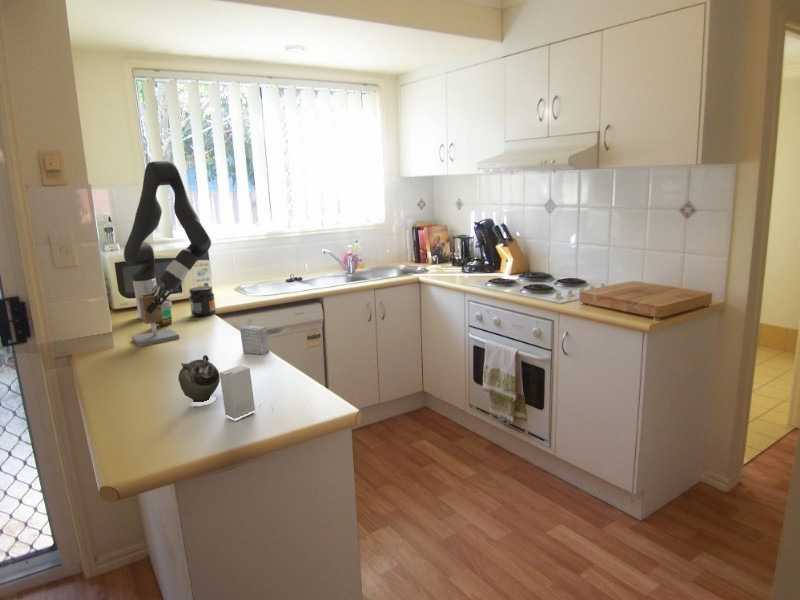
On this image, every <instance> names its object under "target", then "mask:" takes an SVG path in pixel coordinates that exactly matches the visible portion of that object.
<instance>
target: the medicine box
mask: <svg viewBox="0 0 800 600" xmlns="http://www.w3.org/2000/svg"><path fill="white" fill-rule="evenodd" d="M239 329H240V338H241V346H242V352H247V353H246V354H250V353H257V354H256V355H259V354H262V355H264V354H266V353H268V352H270V344H269V336H268V329H267V327H266V326H260V325H245V326H243V327H242V328H239ZM267 351H268V352H267Z"/></svg>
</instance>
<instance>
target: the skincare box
mask: <svg viewBox="0 0 800 600" xmlns="http://www.w3.org/2000/svg"><path fill="white" fill-rule="evenodd" d="M219 375H220V386H221V392H222V400H223V406H224V407H223V408H224V414H225V416H226V415H228V416H230V417H232V418H234V419H235V418H238V417H240V416H243V415H245V414H248V413H249V412H252V411H254V410H255V411H256V407H255V399H254V390H253V383H252V376H251V369H250V367H248V366H244V365H237V366H235V367H231V368H229V369H226V370H223V371H220V372H219Z"/></svg>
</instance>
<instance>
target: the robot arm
mask: <svg viewBox="0 0 800 600" xmlns="http://www.w3.org/2000/svg"><path fill="white" fill-rule="evenodd" d="M177 167H178V166H176V164H175V163H174V162H172V161H170V160H164V161H161V160H158V161H157V160H155V161H150V162H147V164H146V167H145V170H144V175H143V183H142V190H141V194H140V197H139V198H140V199H139V201H138V206H137V209H136V211H135V216H134V221H133V224H132V227H131V232H130V233H129V236H128V238H127V241H126V243H125V246H124V249H123V259H124V261H125V263H126V264H127V265H130V266H139V265H141V267H140V268H139V269H138V270H137V271H134V272H133V274H132V275H131V277H132V285H133V290H134V296H135V301H136V307H137V308H136V309H137V314H138V319H139V320H143V319H142V313H141V307H140V302H139V295H145V294H151V295H152V296H153V295H154V293H155V299H154V300H153V302H152V303H151V304H150V306H149V307H148V308H147V310H146V311H147V312H148V313H150V314H152V313H153V311H154V310H155V309H156V307H157V306H159V305H162V303H163V302H164V301H165V300H166V299H168V298H169V296H170V295H171V294H172V293H171V289H172V290H173V291H176V290H177V289H178V287H179V286H180V285H181V284H182V283H183V281H184V280H185V279H186V278H187V276H188V274H189V272H190V271H191V270H192V268H193V267H194V265H195V264H196V263H197V262H198V261H199V260H200V259H201V258H202V257H203V256H204V255H206V253H208V251H209V250H210V248H211V245H212V240H211V238H210V237H209V235H208V232H207V230H206V229H205V228H204V226H203V224H202V223H201V220H200V218H199V216H198V215H197V213H196V211H195V209H194V207H193V206H192V204H191V202H190V198H189V196H188V193H187V190H186V188H185V185H184V182H183V179H182V177H181V173H180V171H179V169H178V168H177ZM160 186H170V188H171V189H172V191H173V193H174V203H173V210H174V214H175V216H176V219H177V220H178V222H179V224H180V225H181V227H182V229H183V230H184V233H185V234H186V236H187V238H188V240H189V242H190V244H189V246H187V247H186V248H184V249H182V250H180V251H179V252H178V254H177V255H176V256H175V257H174V259H173V260H172V261H171V262H170V263H169V264H168V265H167V266H166V268H165V269H164V271H162V273H161V274H160V275H159V277H158V278H156V272H157V271H156V262H155V261H156V260H155V253H154V249H153V246H152V245H151V243H149V242H147V241H146V239H147V238H149V236H150V235H151V234H153V232H154V231H155V230H156V229H157V228H158V226H159V224H160V221H161V217H162V214H163V210H162V207H161V204H160V202H159V200H158V198H157V191H158V188H159V187H160ZM145 241H146V242H145ZM157 279H158V281H159V282H161V283H160V284H157ZM158 295H159V296H158ZM159 300H160V301H159Z"/></svg>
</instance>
